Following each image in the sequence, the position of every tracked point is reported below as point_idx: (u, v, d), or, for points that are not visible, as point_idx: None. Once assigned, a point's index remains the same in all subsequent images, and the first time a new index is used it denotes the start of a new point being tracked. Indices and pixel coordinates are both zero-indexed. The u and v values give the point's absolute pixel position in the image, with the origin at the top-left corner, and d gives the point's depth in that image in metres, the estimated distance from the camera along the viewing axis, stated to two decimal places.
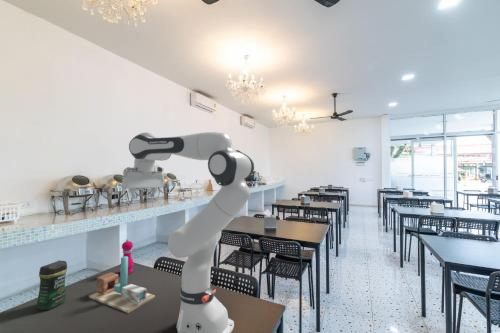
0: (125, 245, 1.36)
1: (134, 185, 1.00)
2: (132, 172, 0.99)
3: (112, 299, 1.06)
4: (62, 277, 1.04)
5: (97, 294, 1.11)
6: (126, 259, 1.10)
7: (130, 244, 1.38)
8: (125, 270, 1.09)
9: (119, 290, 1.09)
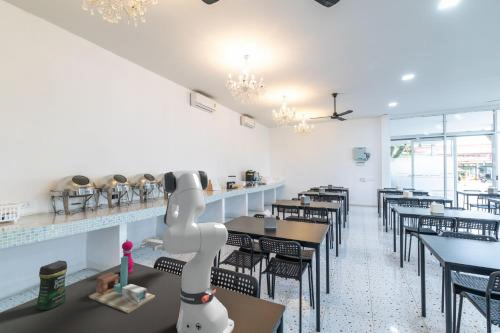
0: (125, 245, 1.36)
1: (147, 239, 1.30)
2: (154, 237, 1.36)
3: (112, 299, 1.06)
4: (62, 277, 1.04)
5: (97, 294, 1.11)
6: (126, 259, 1.10)
7: (130, 244, 1.38)
8: (125, 270, 1.09)
9: (119, 290, 1.09)
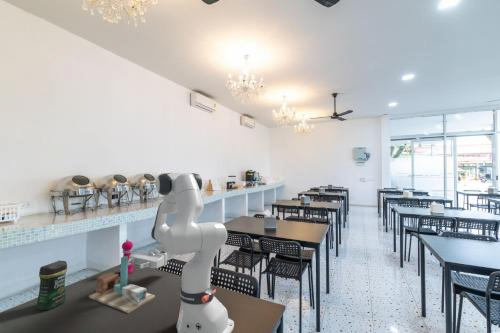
0: (125, 245, 1.36)
1: (134, 255, 1.22)
2: (142, 252, 1.28)
3: (112, 299, 1.06)
4: (62, 277, 1.04)
5: (97, 294, 1.11)
6: (126, 259, 1.10)
7: (130, 244, 1.38)
8: (125, 270, 1.09)
9: (119, 290, 1.09)
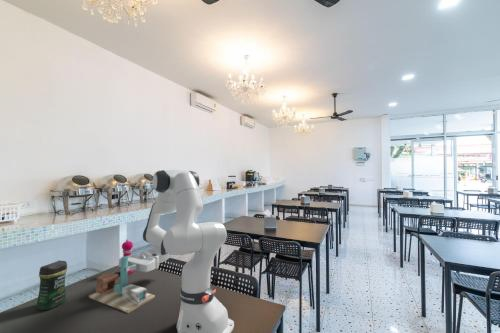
0: (125, 245, 1.36)
1: None
2: (133, 255, 1.23)
3: (112, 299, 1.06)
4: (62, 277, 1.04)
5: (97, 294, 1.11)
6: (126, 259, 1.10)
7: (130, 244, 1.38)
8: None
9: (119, 290, 1.09)
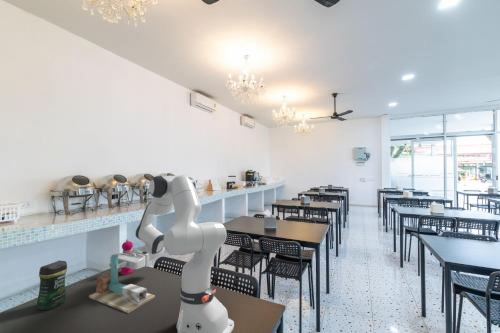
0: (125, 245, 1.36)
1: None
2: (124, 253, 1.26)
3: (112, 299, 1.06)
4: (62, 277, 1.04)
5: (97, 294, 1.11)
6: (116, 257, 1.13)
7: (130, 244, 1.38)
8: None
9: (109, 287, 1.12)
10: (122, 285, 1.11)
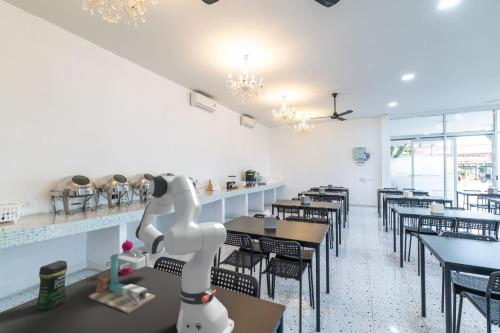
0: (125, 245, 1.36)
1: None
2: (124, 253, 1.26)
3: (112, 299, 1.06)
4: (62, 277, 1.04)
5: (97, 294, 1.11)
6: (116, 257, 1.13)
7: (130, 244, 1.38)
8: (115, 267, 1.12)
9: (109, 287, 1.12)
10: (122, 285, 1.11)
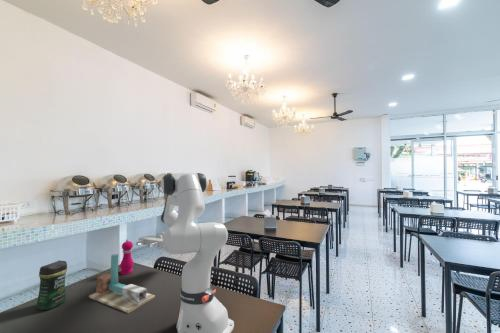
0: (125, 245, 1.36)
1: (143, 237, 1.32)
2: None
3: (112, 299, 1.06)
4: (62, 277, 1.04)
5: (97, 294, 1.11)
6: (116, 257, 1.13)
7: (130, 244, 1.38)
8: (115, 267, 1.12)
9: (109, 287, 1.12)
10: (122, 285, 1.11)
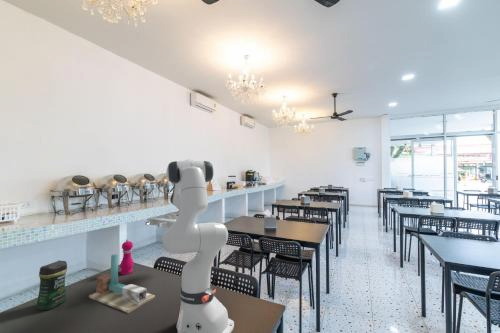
0: (125, 245, 1.36)
1: (152, 218, 1.32)
2: None
3: (112, 299, 1.06)
4: (62, 277, 1.04)
5: (97, 294, 1.11)
6: (116, 257, 1.13)
7: (130, 244, 1.38)
8: (115, 267, 1.12)
9: (109, 287, 1.12)
10: (122, 285, 1.11)
